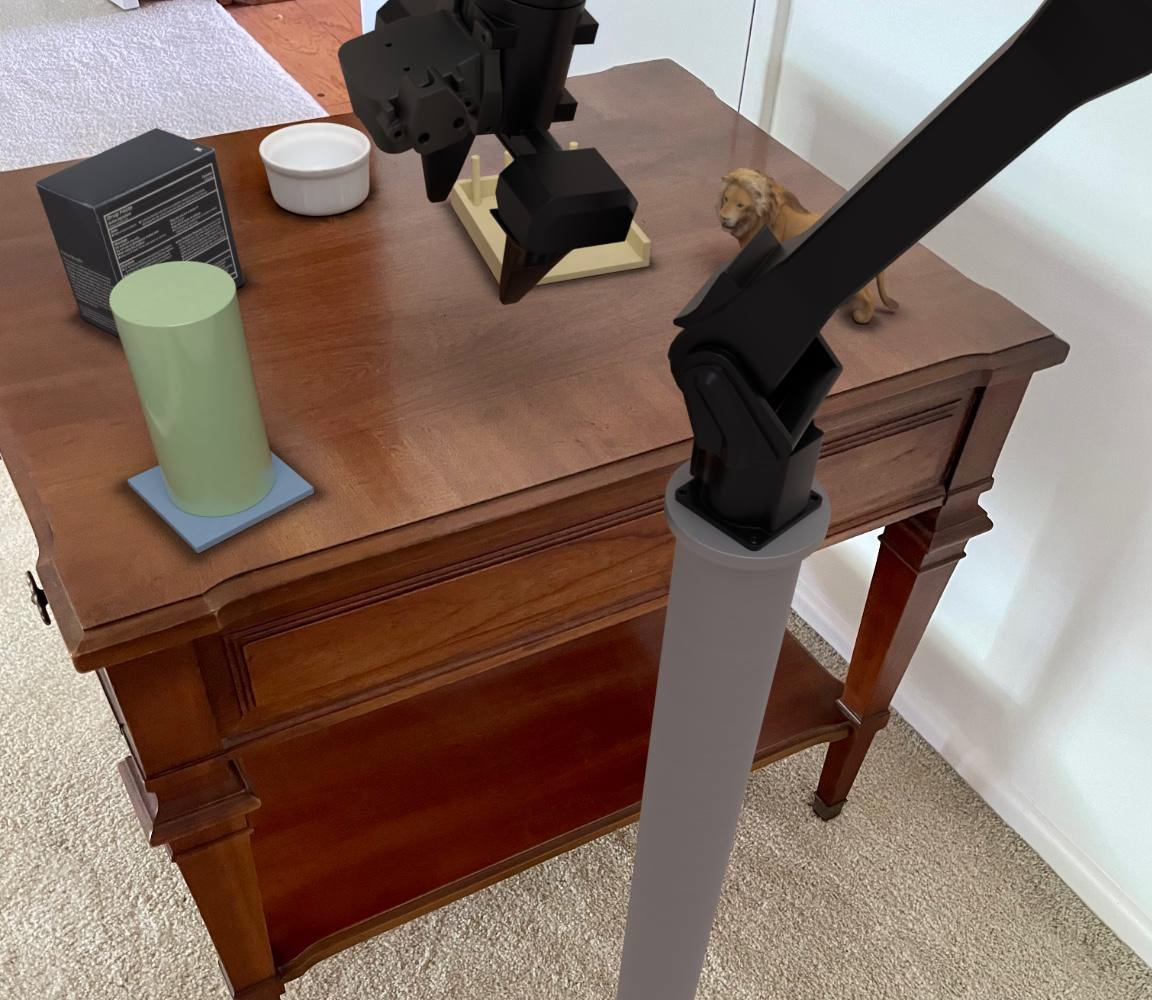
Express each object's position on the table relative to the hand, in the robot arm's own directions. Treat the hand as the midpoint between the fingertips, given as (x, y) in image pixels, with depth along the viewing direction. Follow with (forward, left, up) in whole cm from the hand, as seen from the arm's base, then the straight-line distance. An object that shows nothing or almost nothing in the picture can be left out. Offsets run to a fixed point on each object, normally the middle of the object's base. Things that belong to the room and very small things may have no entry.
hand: (471, 250), depth 65 cm
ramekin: (+32, -10, -13) cm, 36 cm away
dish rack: (+15, -20, -12) cm, 28 cm away
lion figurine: (-4, -28, -13) cm, 31 cm away
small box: (+26, +8, -13) cm, 30 cm away
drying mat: (+5, +16, -12) cm, 21 cm away
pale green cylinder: (+5, +16, -12) cm, 20 cm away
